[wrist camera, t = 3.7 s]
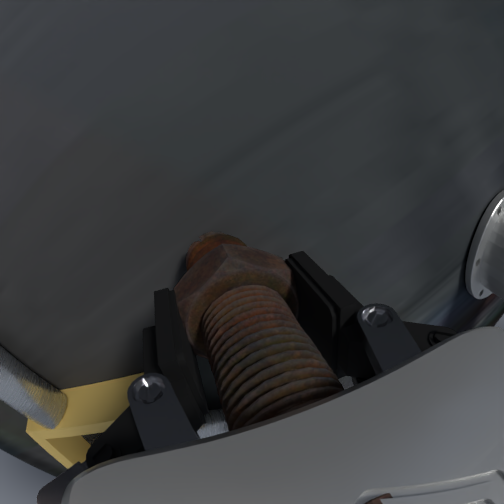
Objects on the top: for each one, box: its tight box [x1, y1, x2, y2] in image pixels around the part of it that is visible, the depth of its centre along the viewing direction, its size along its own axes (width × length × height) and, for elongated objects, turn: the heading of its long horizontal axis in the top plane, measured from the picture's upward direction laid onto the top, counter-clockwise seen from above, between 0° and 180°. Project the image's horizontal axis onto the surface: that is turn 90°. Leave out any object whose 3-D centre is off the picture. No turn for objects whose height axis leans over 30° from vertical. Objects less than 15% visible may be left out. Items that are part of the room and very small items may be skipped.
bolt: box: [174, 231, 393, 504], centre depth 9 cm, size 6×5×15 cm
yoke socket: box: [26, 372, 144, 469], centre depth 18 cm, size 10×10×4 cm
